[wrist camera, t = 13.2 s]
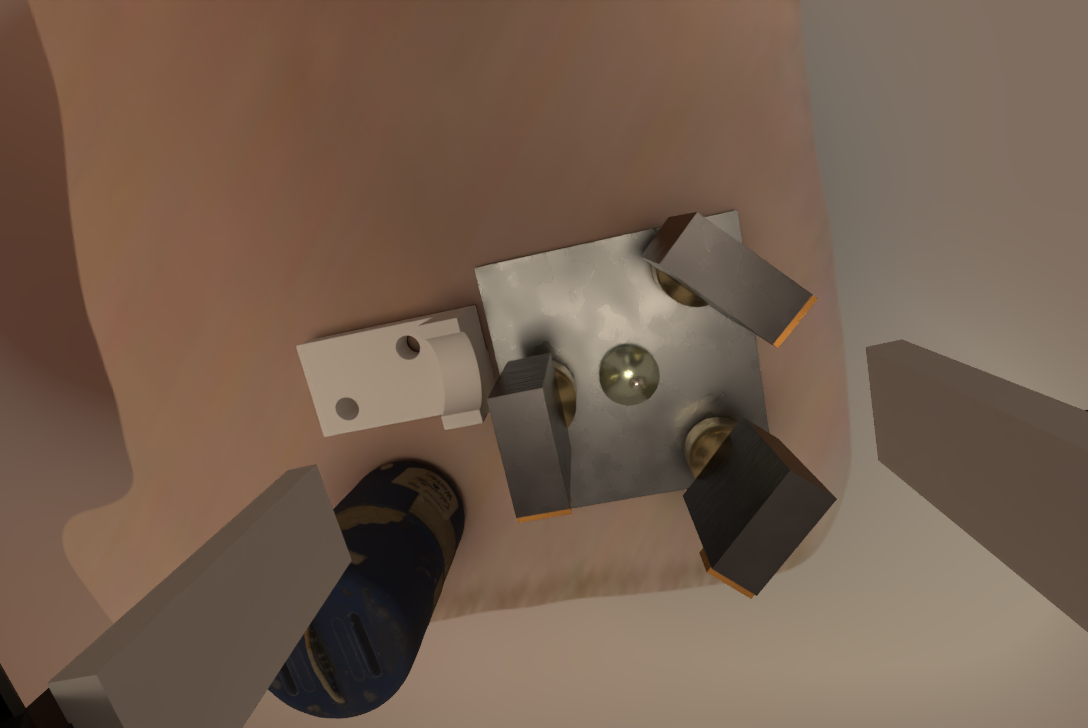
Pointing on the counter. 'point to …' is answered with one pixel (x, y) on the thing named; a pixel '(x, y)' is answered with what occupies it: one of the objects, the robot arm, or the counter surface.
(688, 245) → the dark grey block
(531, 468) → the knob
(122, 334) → the counter surface
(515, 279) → the level plate
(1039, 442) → the robot arm
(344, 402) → the bracket
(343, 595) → the canister
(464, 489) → the counter surface
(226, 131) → the counter surface
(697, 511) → the brass knob with block
